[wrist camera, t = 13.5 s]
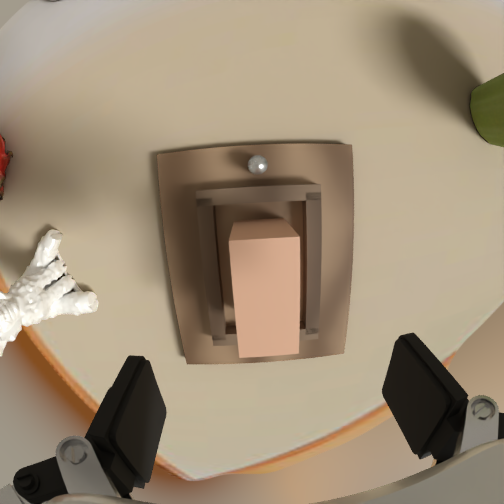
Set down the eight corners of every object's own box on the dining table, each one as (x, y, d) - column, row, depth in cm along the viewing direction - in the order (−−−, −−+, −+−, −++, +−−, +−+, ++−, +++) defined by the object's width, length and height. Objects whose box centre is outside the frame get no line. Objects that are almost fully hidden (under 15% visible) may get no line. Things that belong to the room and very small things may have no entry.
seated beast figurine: (104, 303, 25) (41, 372, 14) (61, 329, 26) (5, 388, 15) (59, 224, 23) (-26, 258, 11) (21, 261, 24) (-49, 300, 12)
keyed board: (188, 358, 27) (183, 376, 24) (160, 155, 22) (148, 152, 19) (341, 348, 27) (349, 364, 24) (347, 145, 22) (361, 142, 19)
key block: (234, 220, 22) (228, 240, 16) (283, 218, 22) (299, 236, 16) (240, 310, 24) (239, 357, 18) (285, 307, 24) (298, 353, 18)
